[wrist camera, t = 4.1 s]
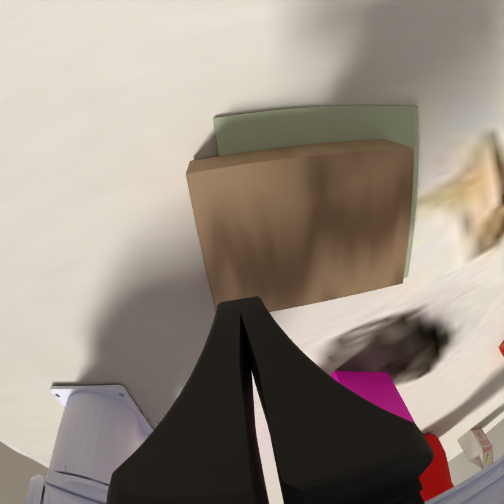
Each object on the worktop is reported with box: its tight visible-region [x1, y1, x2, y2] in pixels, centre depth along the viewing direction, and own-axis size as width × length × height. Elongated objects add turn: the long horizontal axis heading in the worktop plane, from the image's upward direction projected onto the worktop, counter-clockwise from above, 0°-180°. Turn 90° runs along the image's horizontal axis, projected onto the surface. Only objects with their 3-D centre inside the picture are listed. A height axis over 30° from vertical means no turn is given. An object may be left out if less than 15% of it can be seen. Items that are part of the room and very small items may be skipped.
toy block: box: [331, 371, 415, 423], centre depth 26 cm, size 15×6×8 cm, turn 162°
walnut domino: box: [186, 139, 414, 312], centre depth 16 cm, size 8×3×11 cm
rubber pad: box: [213, 105, 418, 278], centre depth 18 cm, size 12×12×1 cm
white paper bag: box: [458, 428, 493, 470], centre depth 41 cm, size 4×7×10 cm, turn 61°
